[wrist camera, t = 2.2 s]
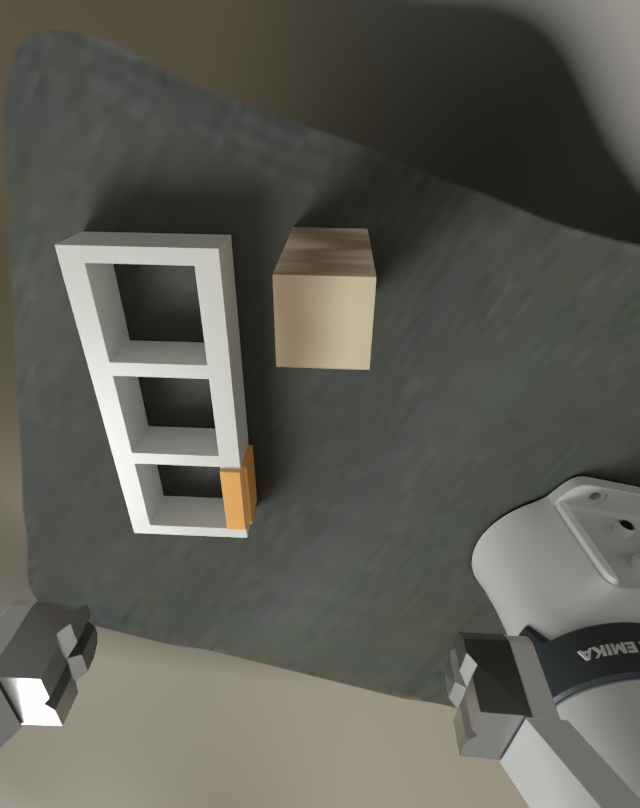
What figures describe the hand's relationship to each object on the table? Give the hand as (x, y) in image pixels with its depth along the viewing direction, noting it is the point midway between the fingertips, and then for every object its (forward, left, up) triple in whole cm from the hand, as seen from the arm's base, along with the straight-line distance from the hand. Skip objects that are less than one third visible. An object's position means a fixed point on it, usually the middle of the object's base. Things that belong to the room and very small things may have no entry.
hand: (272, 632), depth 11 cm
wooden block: (-1, -1, -25) cm, 25 cm away
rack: (+10, +9, -25) cm, 28 cm away
